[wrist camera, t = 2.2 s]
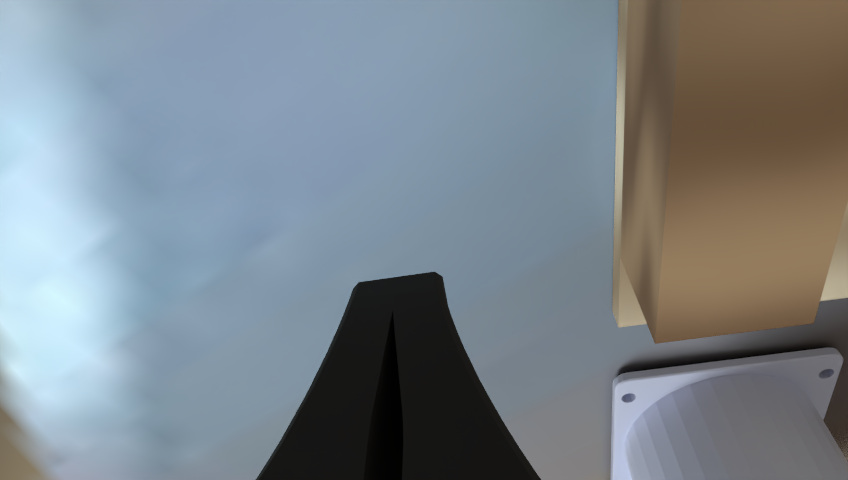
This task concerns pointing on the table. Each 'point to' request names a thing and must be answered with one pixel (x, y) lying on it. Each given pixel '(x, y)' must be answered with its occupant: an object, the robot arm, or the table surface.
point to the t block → (733, 161)
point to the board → (842, 276)
